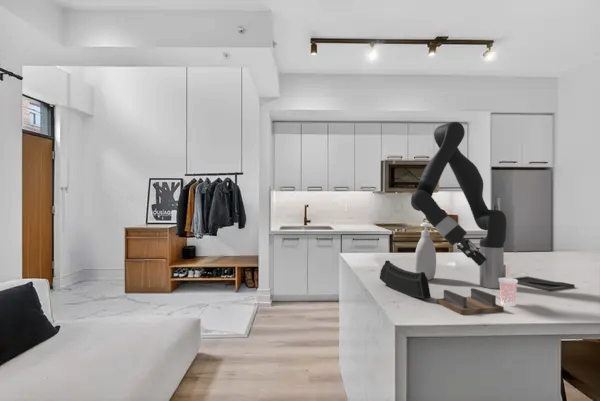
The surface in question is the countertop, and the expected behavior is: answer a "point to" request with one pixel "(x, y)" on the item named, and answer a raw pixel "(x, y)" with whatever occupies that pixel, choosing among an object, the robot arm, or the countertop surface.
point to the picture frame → (543, 284)
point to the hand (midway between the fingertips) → (483, 262)
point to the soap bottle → (425, 254)
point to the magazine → (405, 281)
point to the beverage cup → (508, 290)
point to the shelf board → (470, 302)
